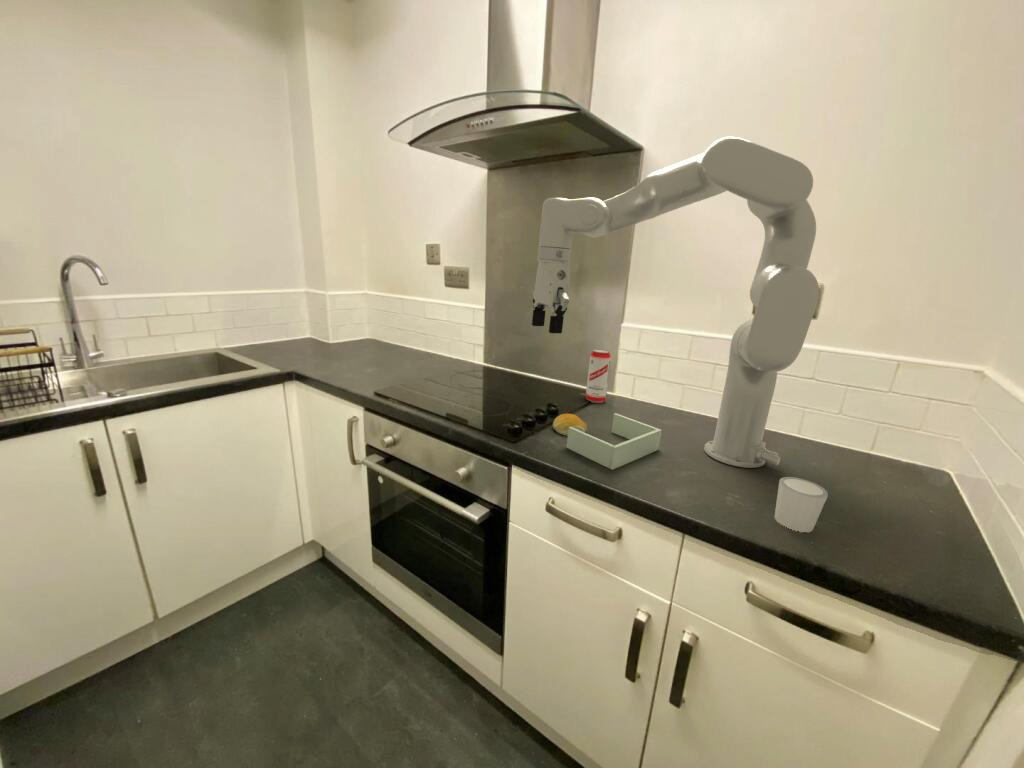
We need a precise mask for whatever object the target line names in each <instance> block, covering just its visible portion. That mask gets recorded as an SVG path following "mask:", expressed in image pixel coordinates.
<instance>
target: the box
mask: <svg viewBox="0 0 1024 768" xmlns="http://www.w3.org/2000/svg"><path fill="white" fill-rule="evenodd" d="M611 433H612V434H615V435H617V436H619V437H623V438H624V439H628V440H625V441H623V442H620V443H618V444H615V445H614V444H612V443H610V442H607V441H606V440H603V439H600V438H598V437H595V436H593V435H592V434H588V433H586V432H585V433H584V432H582V431H580V430H577V429H575V428H573V427H569V429H568V436H567V439H566V448H567V449H568V450H570V451H573V452H575V453H577V454H579V455H581V456H583V457H584V458H587V459H589V460H591V461H594V462H595V463H598V464H599V465H602V466H603V467H606V468H607V469H610V470H612V471H613V470H616V469H617V468H620V467H622V466H624V465H627V464H629V463H632V462H633V461H636V460H639V459H640V458H643V457H645V456H647V455H650V454H652V453H654V452H656V451H658V450H659V449H660V443H661V437H662V429H660V428H658V427H655V426H652V425H649V424H646V423H644V422H641V421H638V420H635V419H632V418H630V417H629V416H628V417H627V416H624V415H622V414H619V413H616V412H615V413H613V420H612V427H611Z"/></svg>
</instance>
